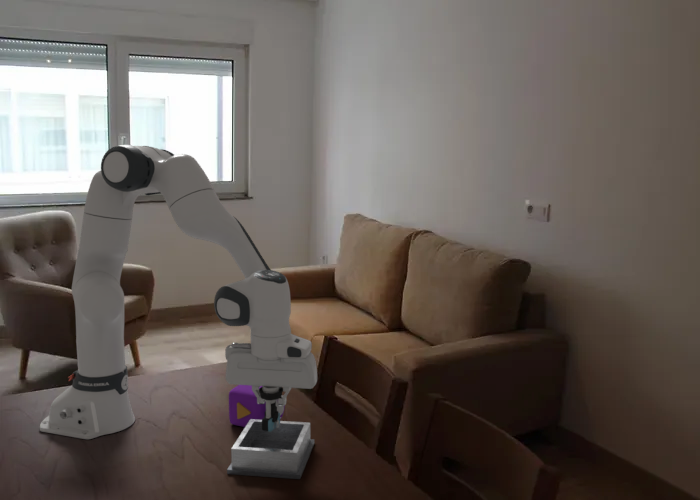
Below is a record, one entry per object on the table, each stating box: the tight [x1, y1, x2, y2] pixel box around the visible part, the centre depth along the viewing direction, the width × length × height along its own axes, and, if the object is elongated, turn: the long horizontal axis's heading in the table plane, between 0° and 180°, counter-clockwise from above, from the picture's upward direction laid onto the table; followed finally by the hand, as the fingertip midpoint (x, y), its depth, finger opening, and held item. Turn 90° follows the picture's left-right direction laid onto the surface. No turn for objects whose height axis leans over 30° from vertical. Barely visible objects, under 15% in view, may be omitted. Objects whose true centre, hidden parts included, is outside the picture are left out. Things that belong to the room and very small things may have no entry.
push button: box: [259, 386, 284, 432], centre depth 155 cm, size 7×5×10 cm
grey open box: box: [226, 419, 315, 480], centre depth 156 cm, size 16×17×6 cm
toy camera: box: [228, 385, 286, 428], centre depth 174 cm, size 11×14×10 cm
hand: (271, 403), depth 155 cm, fingers closed on push button, 3 cm apart
